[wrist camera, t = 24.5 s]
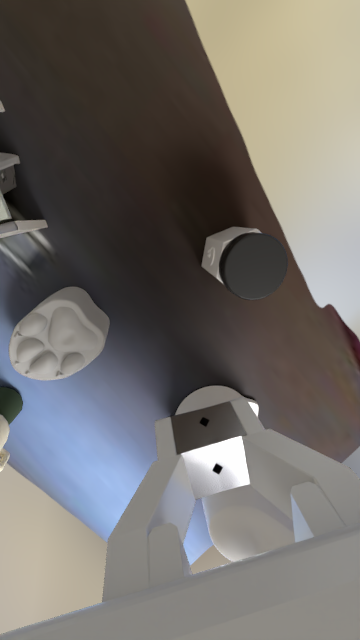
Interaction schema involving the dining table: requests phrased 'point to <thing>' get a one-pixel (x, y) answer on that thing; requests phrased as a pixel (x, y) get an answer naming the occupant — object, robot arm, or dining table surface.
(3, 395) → the character mug
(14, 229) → the channel
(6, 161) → the electrical switch
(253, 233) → the jar
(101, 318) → the cat paw sculpture
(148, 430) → the dining table surface
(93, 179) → the dining table surface
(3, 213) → the cover
